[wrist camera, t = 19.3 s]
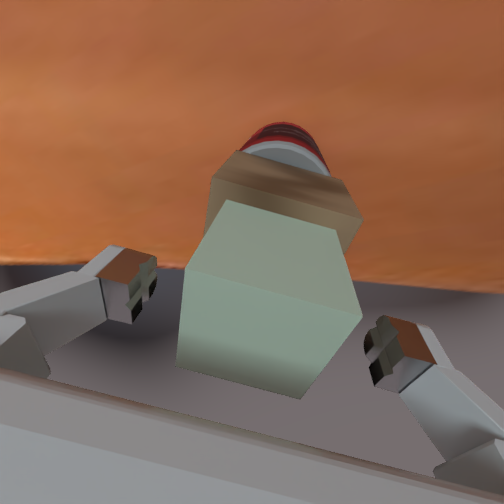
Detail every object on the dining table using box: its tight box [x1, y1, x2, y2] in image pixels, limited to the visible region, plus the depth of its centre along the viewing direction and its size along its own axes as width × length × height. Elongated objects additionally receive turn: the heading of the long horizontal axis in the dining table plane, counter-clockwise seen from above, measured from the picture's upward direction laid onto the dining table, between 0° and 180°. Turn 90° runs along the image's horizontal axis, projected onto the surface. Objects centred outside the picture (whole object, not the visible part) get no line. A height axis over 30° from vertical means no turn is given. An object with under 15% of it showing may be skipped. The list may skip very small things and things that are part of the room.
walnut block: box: [203, 150, 364, 255], centre depth 13 cm, size 6×6×5 cm
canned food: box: [239, 122, 331, 177], centre depth 20 cm, size 8×8×11 cm
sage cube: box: [175, 199, 363, 399], centre depth 9 cm, size 4×4×4 cm
